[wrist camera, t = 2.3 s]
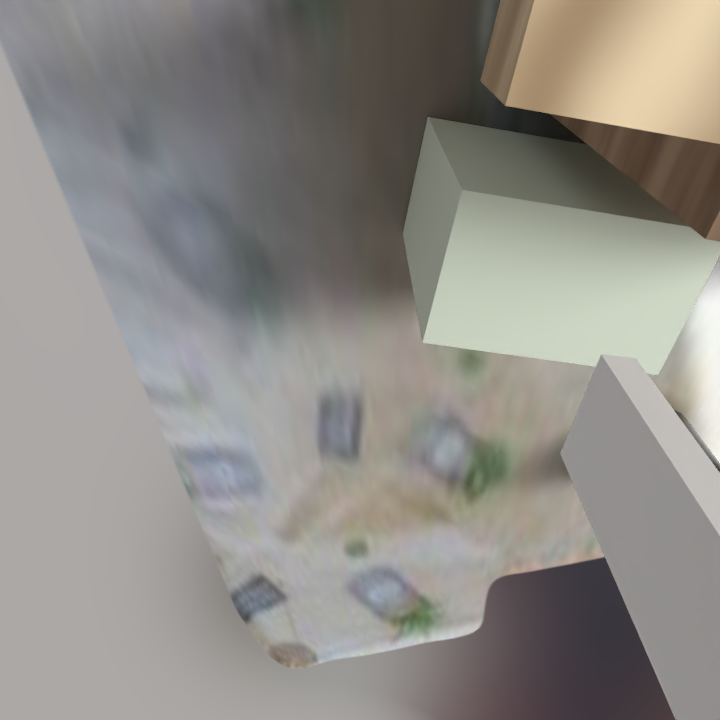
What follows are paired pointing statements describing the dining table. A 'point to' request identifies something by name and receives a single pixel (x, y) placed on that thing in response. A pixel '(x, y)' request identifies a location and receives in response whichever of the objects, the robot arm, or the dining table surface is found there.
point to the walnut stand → (662, 168)
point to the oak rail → (611, 62)
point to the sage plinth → (545, 251)
